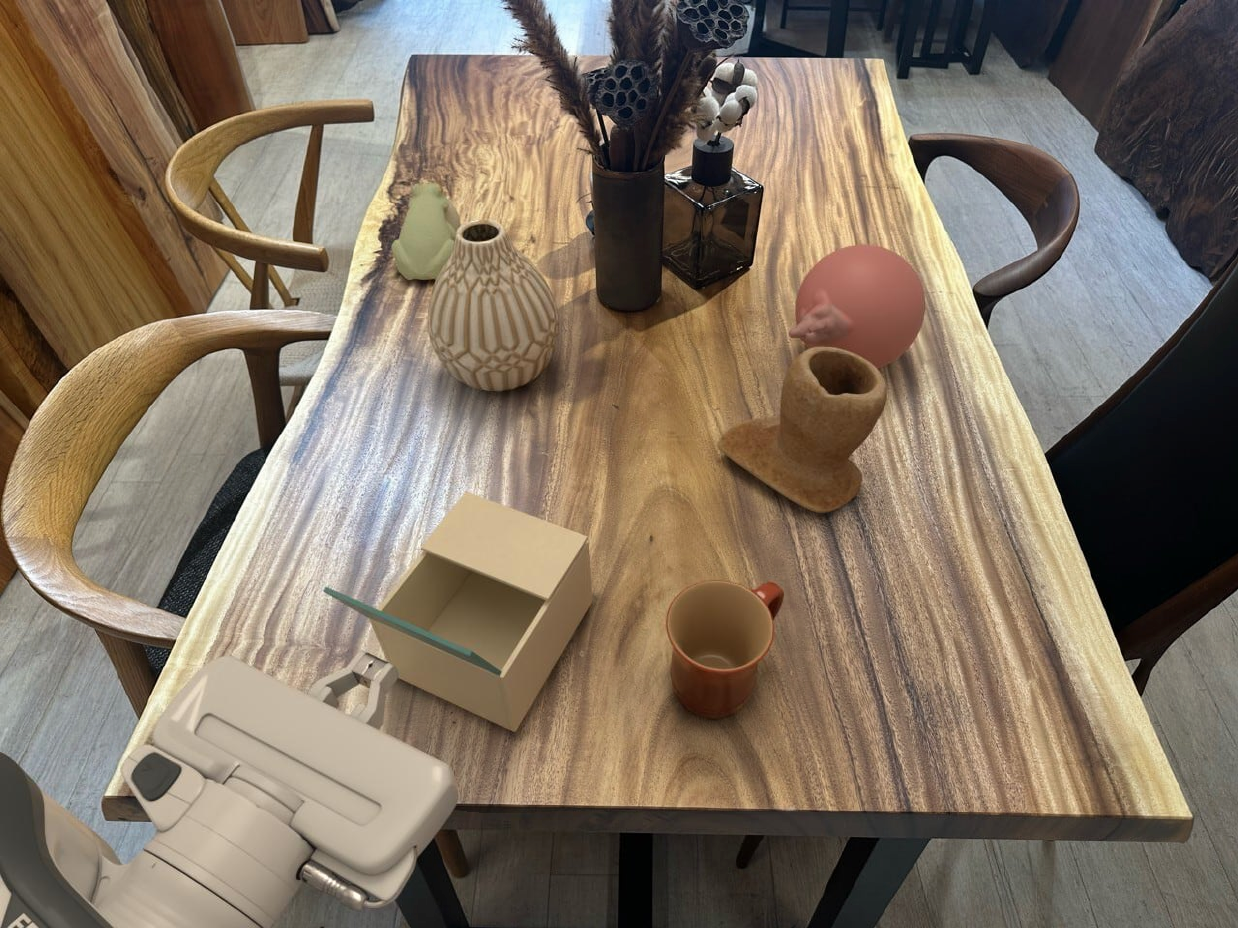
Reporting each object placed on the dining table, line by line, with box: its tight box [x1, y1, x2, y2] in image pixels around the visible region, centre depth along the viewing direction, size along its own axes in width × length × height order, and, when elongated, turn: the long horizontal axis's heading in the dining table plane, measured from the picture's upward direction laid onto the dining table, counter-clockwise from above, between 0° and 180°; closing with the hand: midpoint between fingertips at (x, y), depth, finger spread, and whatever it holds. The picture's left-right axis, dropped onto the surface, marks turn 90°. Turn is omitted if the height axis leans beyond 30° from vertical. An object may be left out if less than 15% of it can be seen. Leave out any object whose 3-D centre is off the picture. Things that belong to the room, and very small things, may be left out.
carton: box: [368, 491, 593, 733], centre depth 73 cm, size 15×13×10 cm
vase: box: [427, 218, 560, 392], centre depth 97 cm, size 16×16×20 cm
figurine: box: [391, 182, 462, 281], centre depth 119 cm, size 10×16×10 cm, turn 179°
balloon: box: [788, 244, 926, 369], centre depth 99 cm, size 15×20×15 cm
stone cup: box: [716, 347, 888, 514], centre depth 86 cm, size 15×12×15 cm
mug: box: [665, 579, 785, 720], centre depth 70 cm, size 12×9×10 cm
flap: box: [322, 586, 502, 676], centre depth 61 cm, size 7×13×1 cm
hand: (381, 661), depth 58 cm, fingers closed
